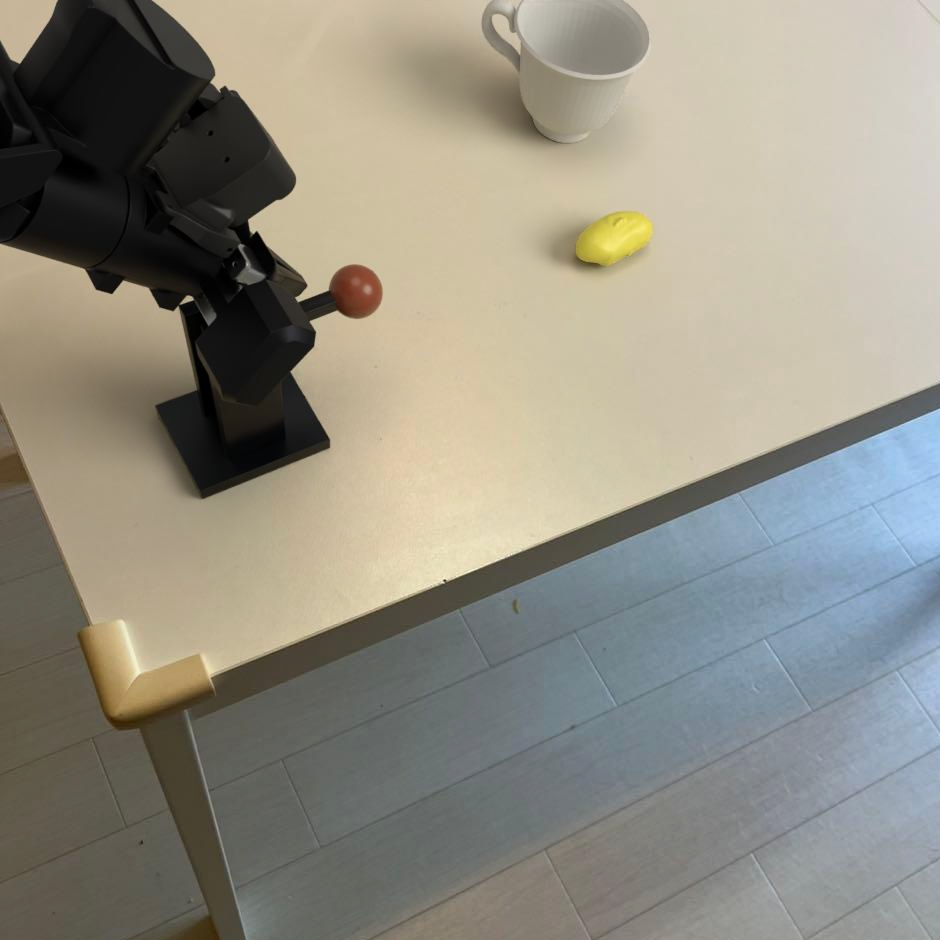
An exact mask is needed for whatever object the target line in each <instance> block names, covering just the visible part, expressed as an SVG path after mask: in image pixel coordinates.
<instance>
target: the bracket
mask: <svg viewBox="0 0 940 940" xmlns="http://www.w3.org/2000/svg"><path fill="white" fill-rule="evenodd" d="M178 311H179V315H180V320H181V324H182V329H183V333H184V334H183V335H184V338H185V342H186V343H185V344H186V347H187V352H188V357H189V361H190V365H191V369H192V374H193V380H194V383H195V387H196V390H193V391H191V392H188V393H184V394H182V395H180V396H176V397H173V398H171V399H168V400H166V401H163V402H160V403H157V404H155V406H154V407H155V410H156V413H157V416H158V418H159V420H160V421H161V424H162V425H163V428H164V429H165V431H166V433H167V435H168V437H169V439H170V441H171V443H172V445H173V446H174V449H175V451H176V452H177V455H178V457H179V458H180V460H181V462H182V463H183V465H184V468H185V470H186V471H187V473H188V476H189V477H190V479H191V481H192V482H193V484H194V487H195V488H196V490H197V492H198V494H199V496H200V498H201V499H202V500H205V499H207V498H209V497H211V496H214V495H216V494H219V493H222V492H224V491H227V490H229V489H231V488H234V487H237V486H240V485H242V484H244V483H246V482H250V481H252V480H254V479H256V478H259V477H262V476H265V475H267V474H270V473H272V472H273V471H276V470H278V469H282V468H284V467H286V466H289V465H291V464H294V463H297V462H299V461H301V460H304V459H307V458H309V457H312V456H313V455H316V454H318V453H321V452H325V451H326V450H329V449H330V448H331V438H330V437H329V434H328V433H327V431H326V429H325V428H324V426H323V424H322V423H321V421H320V419H319V418H318V417H317V415H316V412H315V411H314V409H313V408H312V405H311V404H310V403H309V401H308V399H307V398H306V396H305V394H304V392H303V391H302V389H301V386H300V385H299V383H298V382H297V380H296V378H295V377H294V375H293V373H292V371H291V372H290V373H289V374H288V375H287V376H286V377H285V378H284V379H283V380H282V381H281V382H280V383H279V384H278V386H277V387H276V388H275V389H274V390H273V391H272V392H271V393H270V394H269V395H268V396H267V397H266V398H265V399H264V400H263V402H262V403H261V404H260V405H259V406H258V407H256V406H247V405H242V404H237V403H232V402H227V401H223V400H222V398H221V396H220V394H219V392H218V391H217V389H216V387H215V385H214V383H213V382H212V380H211V378H210V376H209V374H208V373H207V371H206V369H205V367H204V365H203V364H202V362H201V360H200V358H199V356H198V353H197V349H196V344H195V341H196V340H197V339H198V338H199V336H200V335H201V334H202V330H201V327H200V324H202V323H204V322H206V321H205V319H204V317H203V315H202V314H201V312H200V310H199V308H198V307H197V305H196V303H195V301H194V299H193V300H192V299H191V300H190V301H187V302H183V303H180V305H179V306H178Z"/></svg>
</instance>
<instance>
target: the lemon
mask: <svg viewBox="0 0 940 940" xmlns="http://www.w3.org/2000/svg"><path fill="white" fill-rule="evenodd" d="M653 232H654V227H653V222H652V221H651V219H649V217H647V216H646V215H645V214H643V213H641V212H638V211H635V210H620V211H614V212H611V213H609V214H606V215H604V216H602V217H600V218H599V219H598V220H596V221H594V222H592V223H591V224H590V225H588V226H586V228H585V229H584V230H583V231H582V233H580V235H579V236H578V238H577V241H576V243H575V254H576V256H577V258H578V259H580V260H581V261H583V262H587V263H595V264H599V265H601V266H603V267H609V266H611V265H614V264H615V263H617V262H618V261H620V260H621V259H624V258H625V257H630V256H631V255H632V254H633V253H634V252H637V251H639V250H641V249H642V248H644V247H645V246H646V245H647V244H648V243H649V242H650V240H651V238H652V236H653Z"/></svg>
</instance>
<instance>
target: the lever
mask: <svg viewBox="0 0 940 940" xmlns="http://www.w3.org/2000/svg"><path fill="white" fill-rule="evenodd" d="M383 294H384V290H383V285H382V282H381V279H380V278H379V276H378V275H377V274H376V273H375V272H374V270H372V269H370V268H369V267H367V266H365V265H362V264H358V263H355V264H354V263H353V264H348V265H344V266H342V267H340V268H339V269H338V270H336V271H335V272H334V274H333V275H332V277H331V279H330V281H329V285H328V290H325V291H323V292H321V293H318V294H316V295H313V296H311V297H308V298H305V299H301V300H300V301H298V303H299V305H300V306H301V308H302V310H303V311H304V313H305V315H306V316H307V318H308V319H309V321H310V322H312V321H314V320H317V319H320V318H322V317H325V316H327V315H330V314H332V313H335V312H338V313H339V314H340V315H342V316H344V317H345V318H348V319H353V320H362V319H365V318H368V317H370V316H371V315H373V314H374V313H375V312H376V311H378V310H379V308H380V306H381V304H382V301H383V296H384V295H383ZM200 327H201V330H202V333H203V332H204V331H205V330H206V328H207V327H208V324H207V323H206V322H204V323H202V324H200Z"/></svg>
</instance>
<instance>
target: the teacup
mask: <svg viewBox="0 0 940 940" xmlns="http://www.w3.org/2000/svg"><path fill="white" fill-rule="evenodd" d="M494 15H501V16H503V17H505V18H506V20H507V21H508V27H509V31H510V33H512V34H515V33H516V36H517V38H518V39H519V41H520V52H518V50H517V49H516V48H515V47H514V46H513V45H512V44H511V43H510V42H508V41H507V40H506V39H504V38H503V37H502V36H501V35H500V34H499V33H498V31H497V30H496V27H495V26H494V24H493V16H494ZM480 25H481V31H482V34H483V36H484V39H485V40H486V42H487V43H488V44H489V46H490V47H491V48H492V49H493V50H494V51H496V52H497V53H498V54H500V55H501V56H503V57H504V58H505V59H507V60H508V61H509V62H510V63H511V65H512V67H514V70H515V71H516V73H517V75H518V77H519V91H520V96H521V100H522V102H523V105H524V107H525V109H526V110H527V112H528V113H529V115H530V116H531V117H532V122H533V124H534V127H535V128H536V129H537V131H538V132H539V133H540V134H542V135H543V136H544V137H545V138H547V139H550V140H552V141H554V142H557V143H563V144H574V143H578V142H581V141H583V140H585V139H586V138H587V137H588V136H589V135H590V133H591V132H594V131H596V130H598V129H600V128H602V127H603V126H604V125H605V124H607V122H609V120H610V119H611V117H612V116H613V115H614V113H615V112H616V110H617V108H618V106H619V104H620V102H621V100H622V98H623V96H624V94H625V91H626V89H627V86H628V85H629V82H630V80H631V77H632V75H633V73H634V72H635V71H637V70H638V69H640V68H641V67H642V66H643V65H644V64H645V62H646V61H647V60H648V58H649V55H650V53H651V49H652V36H651V32H650V30H649V27H648V26H647V23H646V22H645V21H644V19H643V18H642V16H641V15H640V14H639V13H638V12H637V10H636V9H635V8H634V7H633V6H631V5H630V4H629V3H628V2H626V1H625V0H521V1H520V2H519V3H518V5H517V7H516V6H515V5H514V4H513V3H512V2H511V1H509V0H490V1H489V2H488V3H487V4H486V6H485V8H484V10H483V13H482V16H481V24H480Z"/></svg>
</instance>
